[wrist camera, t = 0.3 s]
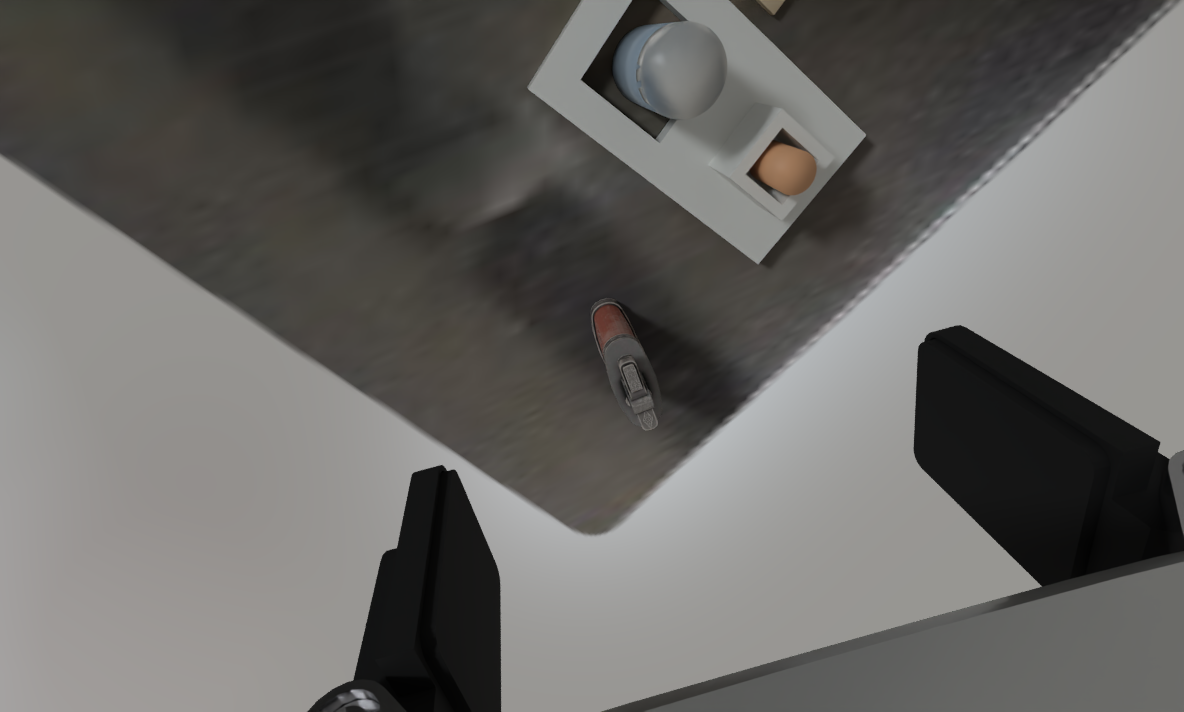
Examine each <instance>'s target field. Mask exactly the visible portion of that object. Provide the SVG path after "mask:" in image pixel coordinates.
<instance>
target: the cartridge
mask: <svg viewBox="0 0 1184 712" xmlns="http://www.w3.org/2000/svg"><path fill="white" fill-rule="evenodd" d="M612 73H613V78H614V81H615V84H616V86H617V88H618V89H619V91H620V92H621V94H622V95H623V96H624V97H625V98H627V99H628V100H630V101H631V102H633V103H636V104H638V105H640V106H642V107H645V108H647V109H649V110H651V111H654V112H656V113H658V114H660V115H663V116H665V117H667V118H670V119H675V120H686V119H691V118H694V117H697V116H699V115H701V114H702V113H704V112H705V111H707V110H708V109H709V108H710V107H711V106H712V105H713V104H714V103H715V101H716V100H717V99H718V97H719V96H720V94H721V92H722V90H723V87H724V84H725V81H726V76H727V57H726V52H725V49H724V47H723V44H722V42H721V41H720V39H719V38H718V36H717V35H716V34H715V33H714V32H713V31H712V30H711V29H710V28H708V27H707V26H705V25H703V24H700V23H697V22H693V21H683V22H672V23H661V24H651V25H642V26H639V27H636V28H634V29H632V30H631V31H629V32H628V33H627V34H626V35H625V36H624V37H623V38H622V39H621V40H620V42H619V44H618V45H617V47H616V50H615V52H614V56H613V61H612Z"/></svg>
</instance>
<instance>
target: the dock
mask: <svg viewBox="0 0 1184 712" xmlns="http://www.w3.org/2000/svg"><path fill="white" fill-rule="evenodd" d="M631 1H632V0H581V2H580V3H579V5H578V6H577V8H576V10H575V11H574V13H573V14H572V16H571V18H570V19H569V21H568V22H567V24H566V26H565V27H564V29H563V30H562V32H561V34H560V35H559V37H558V39H557V40H556V42H555V43H554V45H553V47H552V48H551V50H550V51H549V53H548V55H547V56H546V58H545V59H544V61H543V63H542V64H541V66H540V67H539V69H538V71H537V72H536V74H535V75H534V77H533V79H532V80H531V82H530V83H529V85H528V87H527V88H528V89H529V90H530V91H531V92H532V93H534V94H535V95H536V96H538V97H539V98H540V99H542V100H543V101H544V102H546V103H547V104H548V105H550V106H551V107H552V108H553V109H555V110H556V111H557V112H559V113H560V114H561V115H563V116H564V117H565V118H567V119H568V120H569V121H571V122H572V123H573V124H574V125H576V126H577V127H578V128H580V129H581V130H582V131H584V132H585V133H586V134H588V135H589V136H590V137H592V138H593V139H594V140H595V141H597V142H598V143H599V144H601V145H602V146H603V147H605V148H606V149H607V150H609V151H610V152H611V153H613V154H614V155H615V156H616V157H618V158H619V159H620V160H622V161H623V162H624V163H626V164H627V165H628V166H630V167H631V168H632V169H634V170H635V171H636V172H637V173H639V174H640V175H641V176H643V177H644V178H645V179H647V180H648V181H649V182H651V183H652V184H653V185H655V186H656V187H657V188H658V189H660V190H661V191H662V192H664V193H665V194H666V195H668V196H669V197H670V198H672V199H673V200H674V201H676V202H677V203H678V204H679V205H681V206H682V207H683V208H685V209H686V210H687V211H689V212H690V213H691V214H693V215H694V216H695V217H697V218H698V219H699V220H700V221H702V222H703V223H704V224H706V225H707V226H708V227H710V228H711V229H712V230H714V231H715V232H716V233H718V234H719V235H720V236H721V237H723V238H724V239H725V240H727V241H728V242H729V243H731V244H732V245H733V246H735V247H736V248H737V249H739V250H740V251H741V252H742V253H744V254H745V255H746V256H748V257H749V258H750V259H752V260H753V261H754V262H756V263H757V264H759V263H760V262H761V260H762V259H763V258H764V257H765V256H766V254H767V253H768V252H769V251H770V250H771V248H772V247H773V246H774V245H775V244H776V242H777V241H778V240H779V239H780V238H781V236H782V235H783V234H784V233H785V232H786V231H787V229H788V228H789V227H790V226H791V225H792V223H793V222H794V221H795V220H796V219H797V217H798V216H799V215H800V214H801V213H802V211H803V210H804V209H805V208H806V207H807V205H808V204H809V203H810V202H811V201H812V199H813V198H814V197H815V196H816V195H817V194H818V192H819V191H820V190H821V189H822V188H823V186H824V185H825V184H826V183H827V182H828V180H829V179H830V178H831V177H832V176H833V174H834V173H835V172H836V171H837V170H838V168H839V167H840V166H841V165H842V164H843V163H844V161H845V160H846V159H847V158H848V157H849V155H850V154H851V153H852V152H853V151H854V149H855V148H856V147H857V146H858V145H859V143H860V142H861V141H862V140H863V139H864V137H865V136H866V134H865V133H864V132H863V131H862V130H861V129H860V128H859V127H858V126H857V125H856V124H855V123H854V122H853V121H852V120H851V119H850V118H848V117H847V116H846V115H845V114H844V113H843V112H842V111H841V110H840V109H839V108H838V107H837V106H836V105H835V104H834V103H833V102H832V101H831V100H830V99H829V98H828V97H827V96H826V95H825V94H824V93H823V92H822V91H821V90H820V89H819V88H818V87H817V86H816V85H815V84H814V83H813V82H812V81H811V80H810V79H809V78H808V77H807V76H806V75H805V74H804V73H803V72H802V71H800V70H799V69H798V68H797V67H796V66H795V65H794V64H793V63H792V62H791V61H790V60H789V59H788V58H787V57H786V56H785V55H784V54H783V53H782V52H781V51H780V50H779V49H778V48H777V47H776V46H775V45H774V44H773V43H772V42H771V41H770V40H769V39H768V38H767V37H766V36H765V35H764V34H763V33H762V32H761V31H760V30H759V29H758V28H757V27H756V26H755V25H754V24H753V23H751V22H750V21H749V20H748V19H747V18H746V17H745V16H744V15H743V14H742V13H741V12H740V11H739V10H738V9H737V8H736V7H735V6H734V5H733V4H732V3H731V2H730V1H729V0H659V1H660V2H661V3H662V4H664V5H665V6H666V7H667V8H668V9H669V10H670V11H671V12H672V13H673V14H674V15H675V16H677V17H678V18H679V19H680V20H681V21H682V22H683V21H693V22H697V23H700V24H703V25H705V26H707V27H708V28H710V29H711V30H712V31H713V32H714V33H715V34H716V35H717V36H718V38H719V39H720V41H721V42H722V44H723V47H724V49H725V52H726V57H727V76H726V81H725V84H724V87H723V90H722V92H721V94H720V96H719V97H718V99H717V100H716V101H715V103H714V104H713V105H712V106H711V107H710V108H709V109H708V110H707V111H705V112H704V113H702V114H701V115H699V116H697V117H694V118H691V119H686V120H675V119H670V120H669V121H668V123H667V124H666V125H665V127H664V128H663V130H662V131H661V132H660V134H659V135H658V137H657V138H656V139H654V138H652V137H651V136H650V135H649V134H647V133H646V132H645V131H644V130H642V129H641V128H640V127H639V126H637V125H636V124H635V123H634V122H632V121H631V120H630V119H629V118H627V117H626V116H625V115H624V114H623V113H621V112H620V111H619V110H618V109H616V108H615V107H614V106H613V105H611V104H610V103H609V102H608V101H606V100H605V99H604V98H603V97H601V96H600V95H599V94H598V93H596V92H595V91H594V90H593V89H591V88H590V87H589V86H588V85H586V84H585V83H584V82H583V81H581V78H582V77H583V75H584V74H585V72H586V71H587V69H588V67H589V66H590V64H591V63H592V61H593V60H594V58H595V57H596V55H597V54H598V52H599V51H600V49H601V47H602V46H603V44H604V43H605V41H606V40H607V38H608V37H609V35H610V34H611V32H612V31H613V29H614V27H615V26H616V24H617V23H618V21H619V20H620V18H621V17H622V15H623V14H624V12H625V11H626V9H627V7H628V6H629V4H630V3H631ZM772 140H775V141H778V142H781V143H784V144H786V145H789V146H792V147H795V148H798V149H800V150H803V151H806V152H808V153H810V154H811V155H812V156H813V158H814V159H815V162H816V166H817V171H816V176H815V179H814V181H813V183H812V184H811V185H810V187H809V188H808V189H807V190H805V191H804V192H802V193H800V194H798V195H786V194H784V193H782V192H780V191H778V190H776V189H774V188H772V187H770V186H768V185H767V184H765V183H763V182H761V181H759V180H757V179H755V178H754V177H753V176H752V175H751V173H750V171H749V169H750V168H751V167H752V166H753V164H754V163H755V162H756V161H757V159H758V158H759V157H760V155H761V154H762V153H763V152H764V150H765V149H766V148H767V147H768V145H769V144H770V143H771V141H772Z"/></svg>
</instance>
